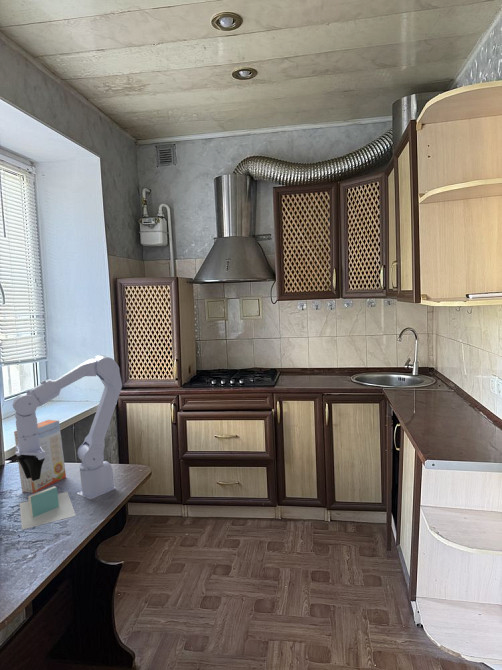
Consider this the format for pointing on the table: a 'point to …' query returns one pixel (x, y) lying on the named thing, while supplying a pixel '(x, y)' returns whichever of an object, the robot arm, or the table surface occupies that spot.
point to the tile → (43, 501)
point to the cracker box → (52, 463)
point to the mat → (50, 516)
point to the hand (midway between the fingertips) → (33, 478)
